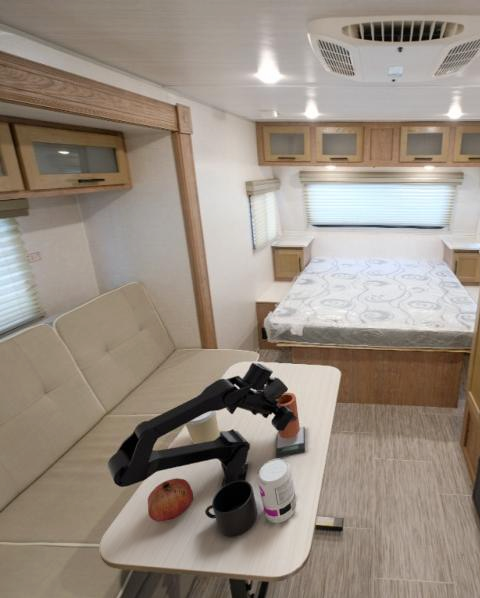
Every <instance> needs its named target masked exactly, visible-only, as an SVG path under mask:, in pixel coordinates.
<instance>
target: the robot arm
mask: <svg viewBox="0 0 480 598" xmlns="http://www.w3.org/2000/svg"><path fill="white" fill-rule="evenodd" d="M273 373H274V370H272V369H270V368H269V367H267V366H266V365H264V364H262V363H260V362H258V363H257V362H252V363H251V364H250V366H249V368H248V369H247V371H246V373H245V374H244V375H243V377H241V376H240V375H235V376H232V377H229V378H220V379H217V380H215V381H214V382H212V383H211V384H209V385H208V386H206V387H205V388H204V389H203V391H202V392H201V393H200V394H198V395H197V396H195V397H193V398H191V399H190V400H188V401H185V402H183V403H181V404H179V405H177V406H175V407H173V408H171V409H169V410H166V411H165V412H162V413H161V414H159V415H157V416H155V417H153V418H151V419H149V420H144V421H141V422H139V423H138V424H137V426H136V427H135V428H134V429H133V432H132V433H131V434H129V436H128V437H126V438H125V439H124V440H123V441H122V442H121V444H120V446H119V447H118V449H117V451H116V452H115V453H114V454H113V455H112V456H111V457H110V458H109V459H108V462H107V468H108V470H109V473H110V476H111V478H112V480H113V482H114V484H115V485H116V486H118V487H119V488H126V487H130V486H133V485H135V484H138V483H141V482H144V481H146V480H147V479H148V478H150V477H152V476H153V475H154V474H156V473H158V472H162V471H165V470H166V471H167V470H170V469H176V468H180V467H184V466H188V465H189V466H190V465H195V464H197V463H202V462H206V461H211V460H218V461H219V462H220V466H221V470H222V473H223V477H222V480H221V487H223V486H225V485H227V484H228V483H231V482H233V481H238V480H243V481H247V474H248V470H249V464H248V463H247V460H248V455H249V451H250V450H251V444H250V442H249V441H248V440H247V439H246V438H245V437H244V436H243V435H242V434H241V433H240V432H239V431H237V430H234V429H233V428H232V429H230V430H222V431H220V432H219V437H218V438H217V439H215V440H214V441H209V442H203V443H197V444H193V443H192V444H187V445H181V446H176V447H169V448H163V449H158V450H157V449H155V450H154V446H155V444H156V443H157V441H158V439H160V438H161V437H163V436H165V435H167V434H169V433H171V432H172V431H174V430H176V429H178V428H180V427H182V426H184V425H186V423H188V422H190V421H191V420H193V419H195V418H197V417H199V416H201V415H203V414H205V413H207V412H210V411H215V412H217V411H221V410H224V409H226V411H228V412H229V414H231V415H234V413H235V412H236V411H237V408H238V409H242V410H245V411H248V412H250V413H251V414H252V415H253V416H257V415H258V414H259V415H261V416H262V417H263V418H264V419H268V417H269V416H272V415H274V416H273V418H272V419H271V421H270V423H271V426H272V427H273V428H274V429H275V430H276V431H277V432H278V431H284V429H285V428H286V426H287V425H288V423H289V422H292V421H295V420H296V419H297V416H295V415H293V414H294V413H293V412H292V411H291V409H290V408H289V407H288V406H282V407H279V406H278V405H277V404H278V402H279V401H278V400H276V399H278V398H280V397H281V396H282V395H283V394H284V393H288V390H289V387H288V386H287V385H286V384H285V383H284V381H283V380H281V379H280V378H279V377H275V376H274V377H271V376H272V374H273Z"/></svg>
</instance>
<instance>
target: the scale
mask: <svg viewBox="0 0 480 598" xmlns="http://www.w3.org/2000/svg"><path fill="white" fill-rule="evenodd" d="M276 434H277V435H276V445H275V458H281V457H286V456H292V455H297V454H301V453H305V452H306V429H305V426H300V430H299V433H298V434H297V435H296V436H294V437H292V438H282V437H280V436H279V432H278V431H277V433H276Z"/></svg>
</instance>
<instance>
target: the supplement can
mask: <svg viewBox="0 0 480 598" xmlns="http://www.w3.org/2000/svg"><path fill="white" fill-rule="evenodd" d="M257 484H258V489H259V493H260V497H261V503H262V507H263V513H264V515H265V519H266V520H267V521H269V522H270V523H274V524H278V523H282V522H285V521H287V520H288V519H290V518H291V517H292V516H293V515H294V513H295V512H296V509H297V496H296V491H295V484H294V478H293V472H292V467H291V465H290V464H289V463H288V462H287V461H286V460H285V459H283V458H273V459H270V460H268V461H266V462H265V463H264V464H263V465H262V466H261V468H260V469H259V473H258V474H257Z"/></svg>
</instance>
